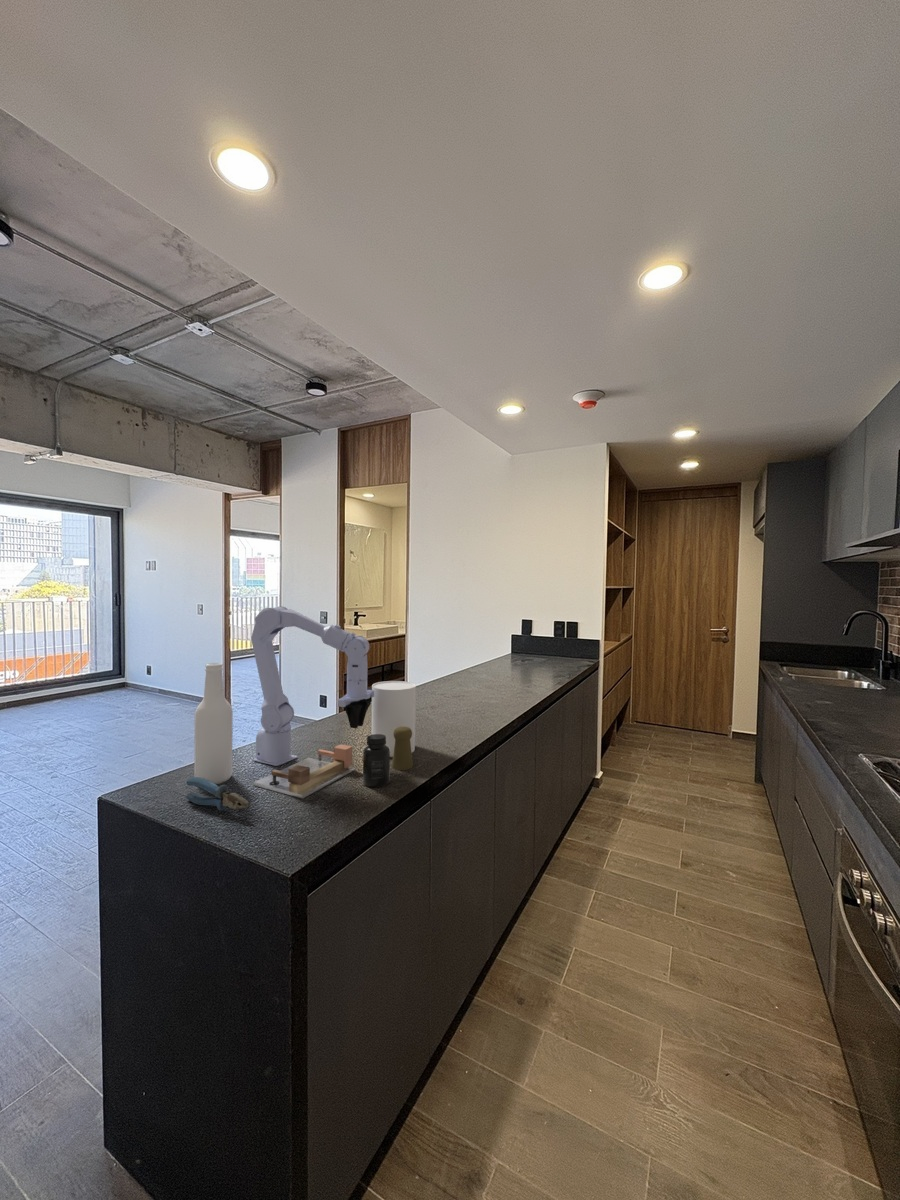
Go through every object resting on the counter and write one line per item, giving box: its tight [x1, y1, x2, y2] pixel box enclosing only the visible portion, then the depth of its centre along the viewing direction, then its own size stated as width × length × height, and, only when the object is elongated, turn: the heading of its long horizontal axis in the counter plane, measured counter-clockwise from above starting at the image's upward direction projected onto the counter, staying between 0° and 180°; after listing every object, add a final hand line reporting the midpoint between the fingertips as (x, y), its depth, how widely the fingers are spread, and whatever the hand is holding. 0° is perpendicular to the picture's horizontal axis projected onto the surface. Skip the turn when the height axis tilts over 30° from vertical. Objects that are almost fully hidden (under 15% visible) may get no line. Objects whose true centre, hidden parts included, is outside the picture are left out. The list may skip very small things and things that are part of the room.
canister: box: [370, 680, 417, 758], centre depth 151 cm, size 14×14×20 cm
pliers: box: [186, 776, 250, 811], centre depth 109 cm, size 20×2×6 cm, turn 62°
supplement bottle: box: [362, 734, 391, 788], centre depth 126 cm, size 7×7×12 cm
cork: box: [391, 727, 414, 771], centre depth 137 cm, size 6×6×11 cm
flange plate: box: [253, 757, 355, 799], centre depth 128 cm, size 16×20×1 cm
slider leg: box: [317, 743, 353, 768], centre depth 135 cm, size 10×3×5 cm, turn 64°
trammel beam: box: [270, 760, 345, 794], centre depth 127 cm, size 10×20×5 cm, turn 154°
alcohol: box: [193, 662, 234, 785], centre depth 125 cm, size 9×9×30 cm
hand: (356, 726), depth 139 cm, fingers closed
